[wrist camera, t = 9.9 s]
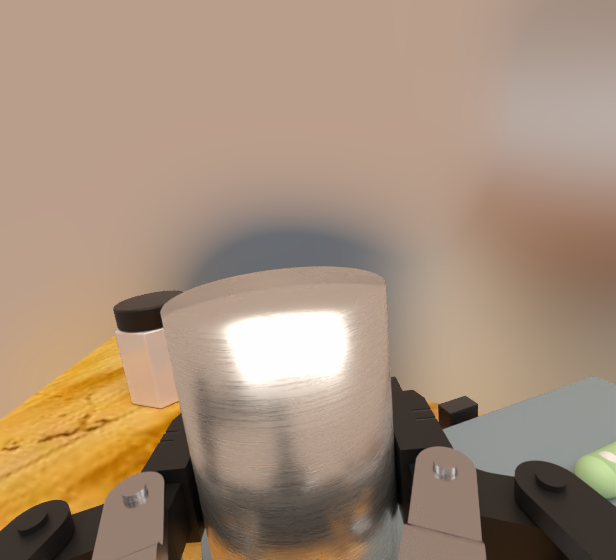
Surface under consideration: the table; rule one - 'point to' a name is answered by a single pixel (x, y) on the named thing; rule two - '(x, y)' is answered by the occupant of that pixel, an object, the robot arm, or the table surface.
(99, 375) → the table surface
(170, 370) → the jar
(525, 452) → the platform
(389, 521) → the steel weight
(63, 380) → the table surface
